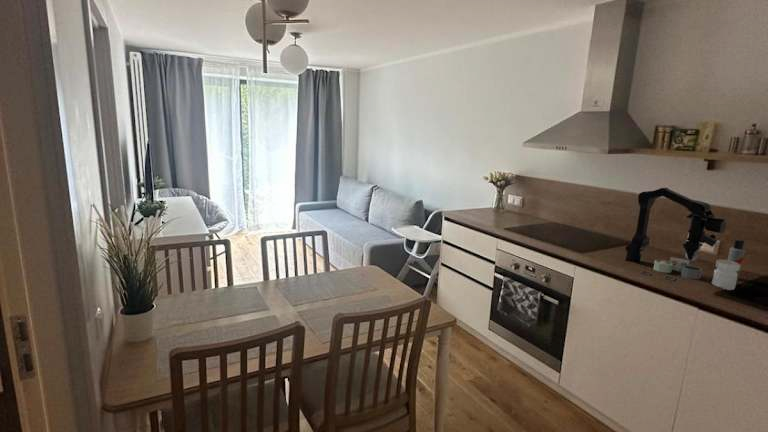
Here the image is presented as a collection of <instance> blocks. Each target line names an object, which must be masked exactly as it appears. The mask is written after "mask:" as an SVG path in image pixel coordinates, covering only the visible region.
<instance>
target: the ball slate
mask: <svg viewBox="0 0 768 432" xmlns="http://www.w3.org/2000/svg"><path fill="white" fill-rule="evenodd" d="M698 258H699V254H698V253H697V251H696V252H695V253H694V256H693V258H692V260H689V259H688V256H687V253H686V252H685V259H686V260H688V261H690V262H694V261H696V260H697V259H698Z"/></svg>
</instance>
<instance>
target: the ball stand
mask: <svg viewBox="0 0 768 432" xmlns="http://www.w3.org/2000/svg"><path fill="white" fill-rule="evenodd" d="M640 274H641V275H646V276H651V275H652V271H647V270H646V271H645V270H642V271H640ZM663 280H667V281H672V282H674V281H675V280H676V277H672V276H668V275H665V276H664V277H663Z"/></svg>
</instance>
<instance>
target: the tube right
mask: <svg viewBox="0 0 768 432" xmlns="http://www.w3.org/2000/svg"><path fill="white" fill-rule="evenodd" d="M702 273H703V268H701V267H698V266H695V265H690V264H689V265H683V267H682V272H680V276H682V277H683V278H686V279H691V280H700V279H701V277H702V276H701V275H702Z"/></svg>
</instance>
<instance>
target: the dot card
mask: <svg viewBox="0 0 768 432" xmlns="http://www.w3.org/2000/svg"><path fill="white" fill-rule="evenodd" d="M669 261H670V262H672V263H673V266H672V271H675V272H676V271H677V272H679V273H681V272H682V267H683V265H690V262H691V261H690V260H688V259H684V258H683V259H682V258H676V257H673V256H670V259H669Z"/></svg>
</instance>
